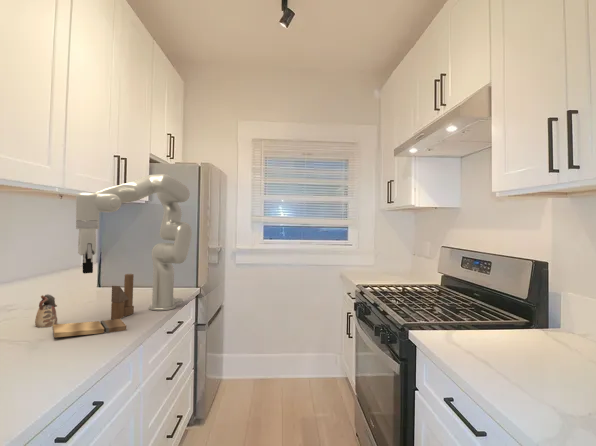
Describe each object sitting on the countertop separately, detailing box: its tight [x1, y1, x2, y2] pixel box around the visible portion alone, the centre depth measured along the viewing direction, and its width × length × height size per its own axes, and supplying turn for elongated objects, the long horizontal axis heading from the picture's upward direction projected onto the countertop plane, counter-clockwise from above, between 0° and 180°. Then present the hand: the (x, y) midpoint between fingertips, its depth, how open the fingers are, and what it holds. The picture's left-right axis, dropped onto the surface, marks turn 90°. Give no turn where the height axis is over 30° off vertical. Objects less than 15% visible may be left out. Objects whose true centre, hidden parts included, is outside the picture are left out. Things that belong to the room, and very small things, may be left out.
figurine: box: [34, 293, 58, 328], centre depth 136 cm, size 7×7×12 cm
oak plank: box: [52, 320, 105, 338], centre depth 128 cm, size 15×12×2 cm
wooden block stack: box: [110, 273, 135, 320], centre depth 152 cm, size 4×11×18 cm, turn 172°
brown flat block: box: [99, 318, 127, 334], centre depth 135 cm, size 7×12×2 cm, turn 38°
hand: (87, 272), depth 133 cm, fingers closed
